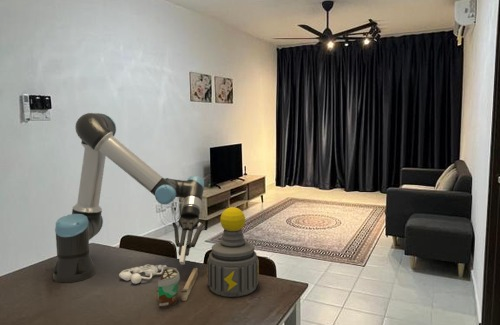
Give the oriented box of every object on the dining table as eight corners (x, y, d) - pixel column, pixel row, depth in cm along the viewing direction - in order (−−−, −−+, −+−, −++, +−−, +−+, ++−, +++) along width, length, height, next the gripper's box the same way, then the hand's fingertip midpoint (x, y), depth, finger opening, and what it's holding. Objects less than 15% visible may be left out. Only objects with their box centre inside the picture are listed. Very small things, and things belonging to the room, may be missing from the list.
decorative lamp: (203, 298, 134) (202, 213, 131) (211, 276, 153) (210, 201, 150) (258, 298, 134) (258, 213, 130) (258, 277, 152) (258, 202, 149)
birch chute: (156, 300, 132) (156, 290, 132) (172, 274, 154) (172, 266, 154) (186, 300, 132) (186, 290, 132) (198, 275, 154) (197, 266, 153)
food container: (177, 310, 126) (176, 280, 125) (158, 310, 125) (157, 280, 124) (182, 293, 138) (182, 266, 137) (165, 293, 138) (164, 266, 137)
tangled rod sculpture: (152, 266, 167) (151, 257, 167) (175, 271, 158) (175, 261, 158) (113, 280, 151) (112, 270, 151) (137, 286, 143) (136, 275, 142)
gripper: (207, 214, 163) (200, 268, 148) (177, 213, 164) (166, 266, 149) (205, 205, 157) (197, 259, 143) (174, 204, 158) (162, 258, 143)
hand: (181, 263), depth 146 cm, fingers closed
